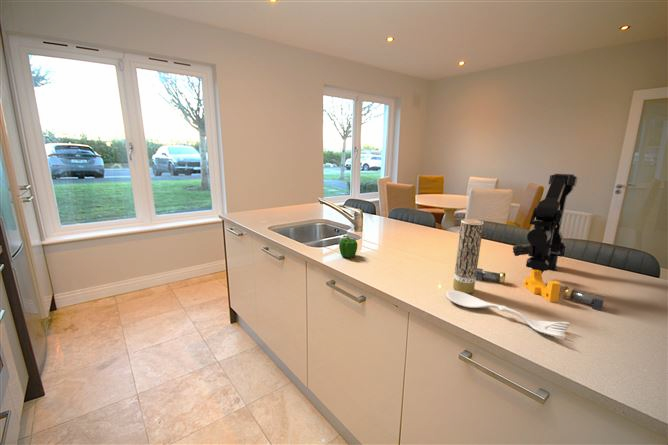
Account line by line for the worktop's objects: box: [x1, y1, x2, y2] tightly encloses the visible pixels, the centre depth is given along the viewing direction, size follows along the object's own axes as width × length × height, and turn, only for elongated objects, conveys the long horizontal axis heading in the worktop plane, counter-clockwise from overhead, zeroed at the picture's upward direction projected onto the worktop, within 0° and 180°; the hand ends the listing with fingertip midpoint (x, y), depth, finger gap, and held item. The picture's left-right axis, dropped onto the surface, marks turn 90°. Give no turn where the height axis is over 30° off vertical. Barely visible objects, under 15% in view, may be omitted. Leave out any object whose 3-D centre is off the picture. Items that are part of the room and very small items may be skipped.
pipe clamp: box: [523, 268, 562, 303], centre depth 101 cm, size 12×4×6 cm, turn 176°
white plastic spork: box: [445, 289, 572, 340], centre depth 87 cm, size 9×32×4 cm, turn 45°
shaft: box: [563, 286, 606, 312], centre depth 95 cm, size 10×4×4 cm, turn 42°
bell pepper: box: [338, 235, 358, 259], centre depth 135 cm, size 8×8×10 cm
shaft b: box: [475, 267, 506, 285], centre depth 111 cm, size 10×4×4 cm, turn 62°
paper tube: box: [452, 218, 484, 294], centre depth 101 cm, size 7×7×25 cm
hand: (534, 279), depth 110 cm, fingers closed
